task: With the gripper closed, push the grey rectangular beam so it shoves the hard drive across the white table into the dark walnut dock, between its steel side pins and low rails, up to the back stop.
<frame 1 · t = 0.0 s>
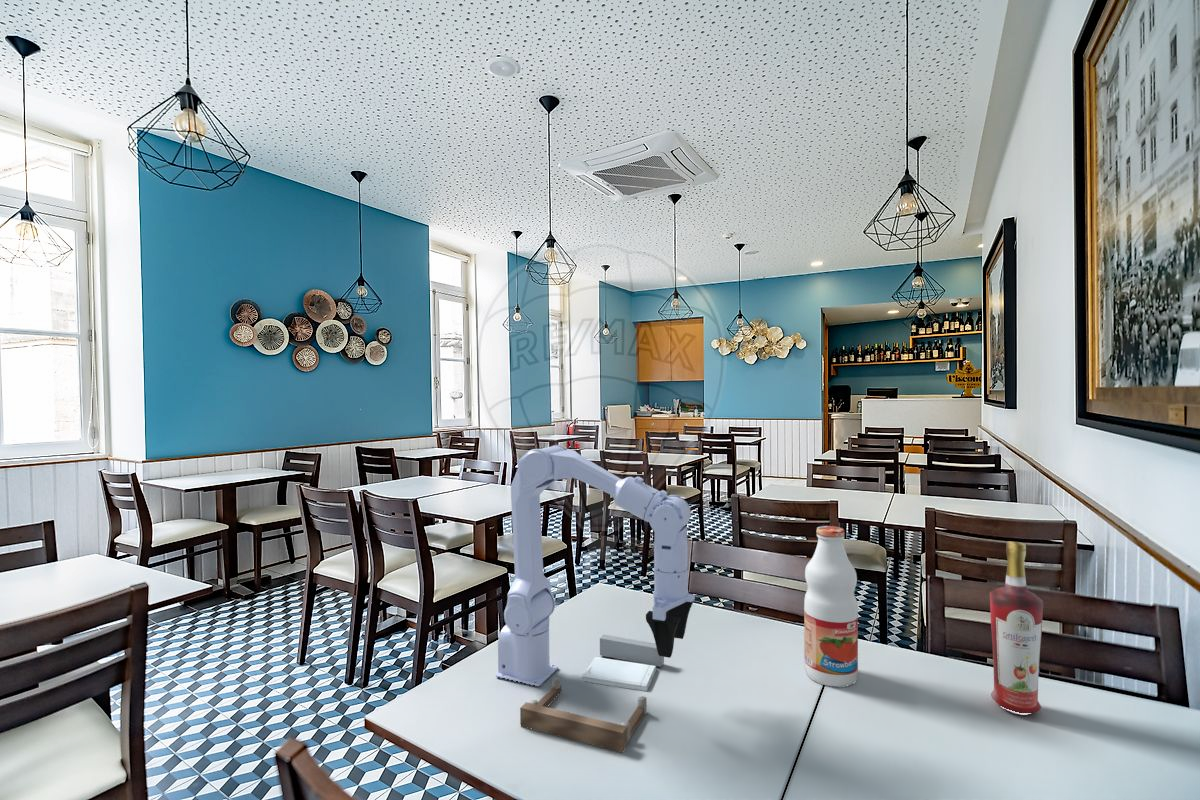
hand: (671, 646, 99), 10 cm above the table, tool pointing down, fingers open, 7 cm apart
fruit juice: (830, 676, 108), on the table
grey rectangular beam: (631, 650, 115), point 2 cm above the table, slide at 0.0 cm
liquor: (1015, 709, 97), on the table
dock: (587, 716, 95), on the table
hard drive: (619, 679, 109), on the table
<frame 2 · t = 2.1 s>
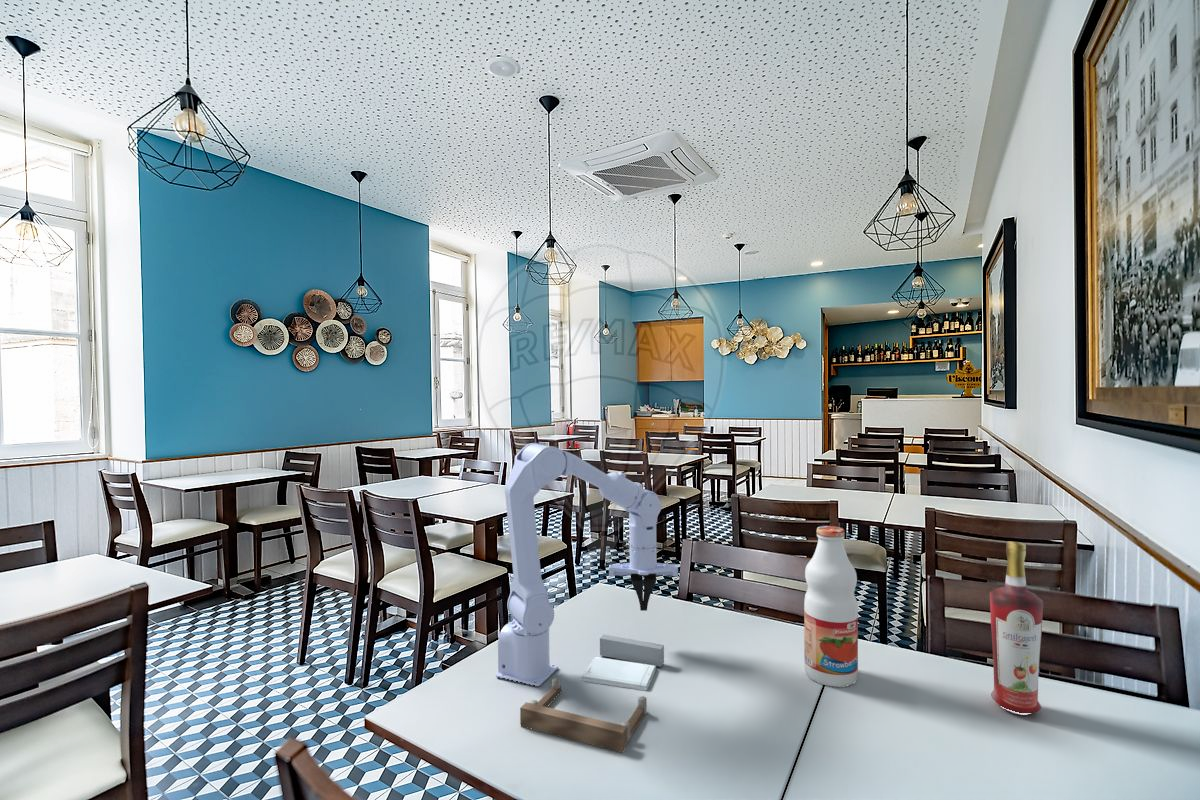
hand: (643, 608, 122), 8 cm above the table, tool pointing down, fingers closed
nothing on the table moved.
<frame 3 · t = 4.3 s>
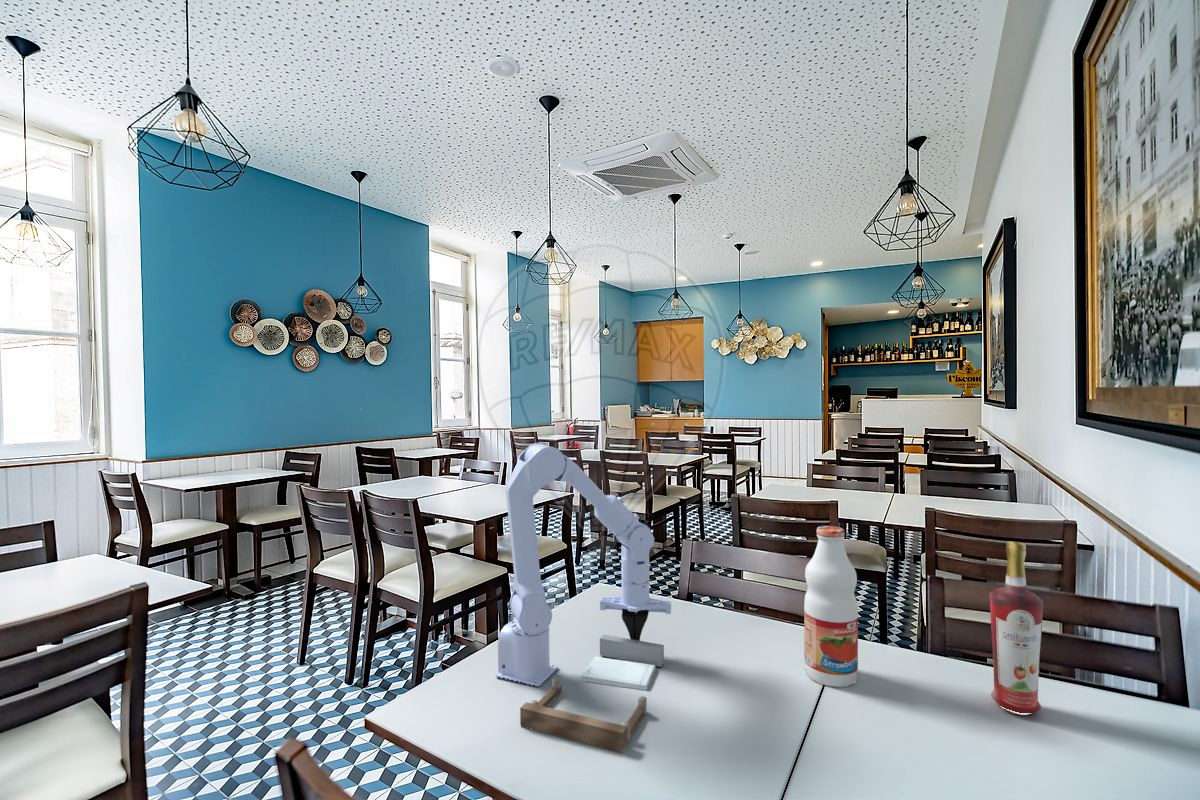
hand: (635, 645, 117), 2 cm above the table, tool pointing down, fingers closed
grey rectangular beam: (631, 650, 115), point 2 cm above the table, slide at 0.0 cm, touching gripper
everything else where it was.
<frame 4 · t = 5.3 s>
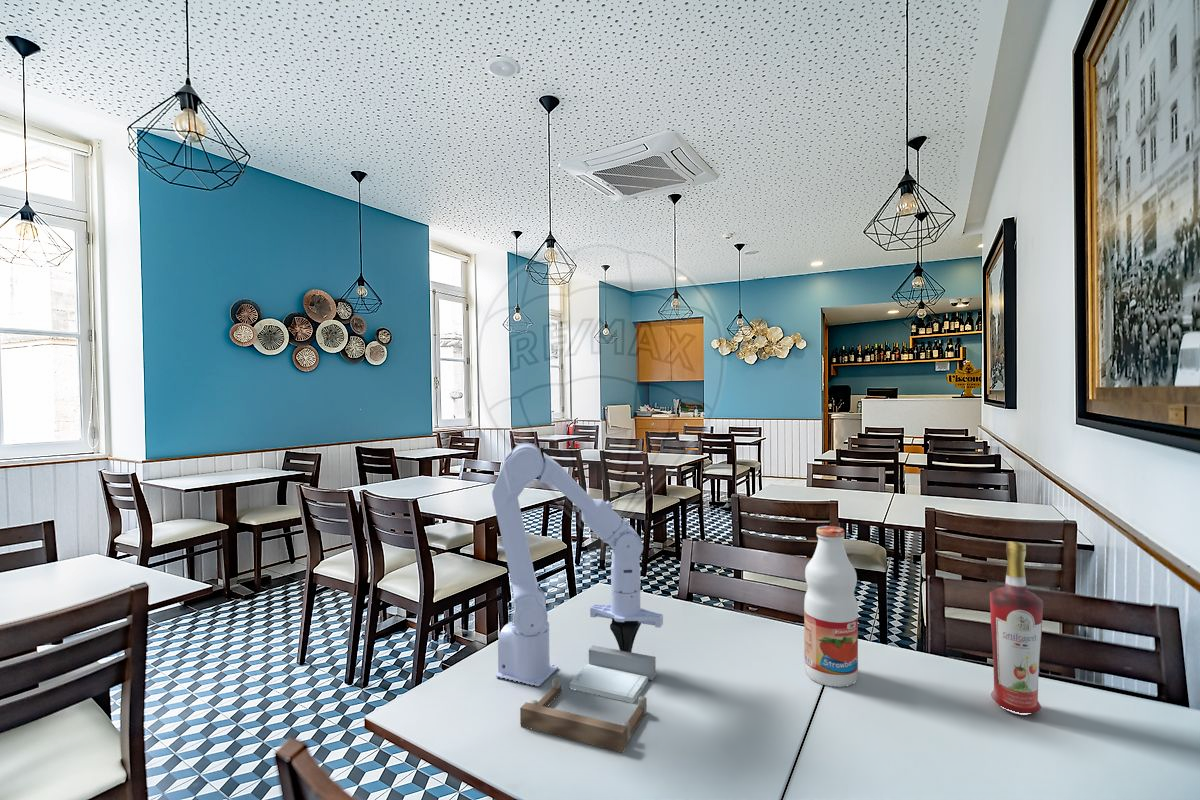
hand: (626, 657, 112), 2 cm above the table, tool pointing down, fingers closed, pressing on grey rectangular beam
grey rectangular beam: (621, 662, 110), point 2 cm above the table, slide at 5.5 cm, touching gripper
hard drive: (609, 688, 105), on the table
everything else where it was.
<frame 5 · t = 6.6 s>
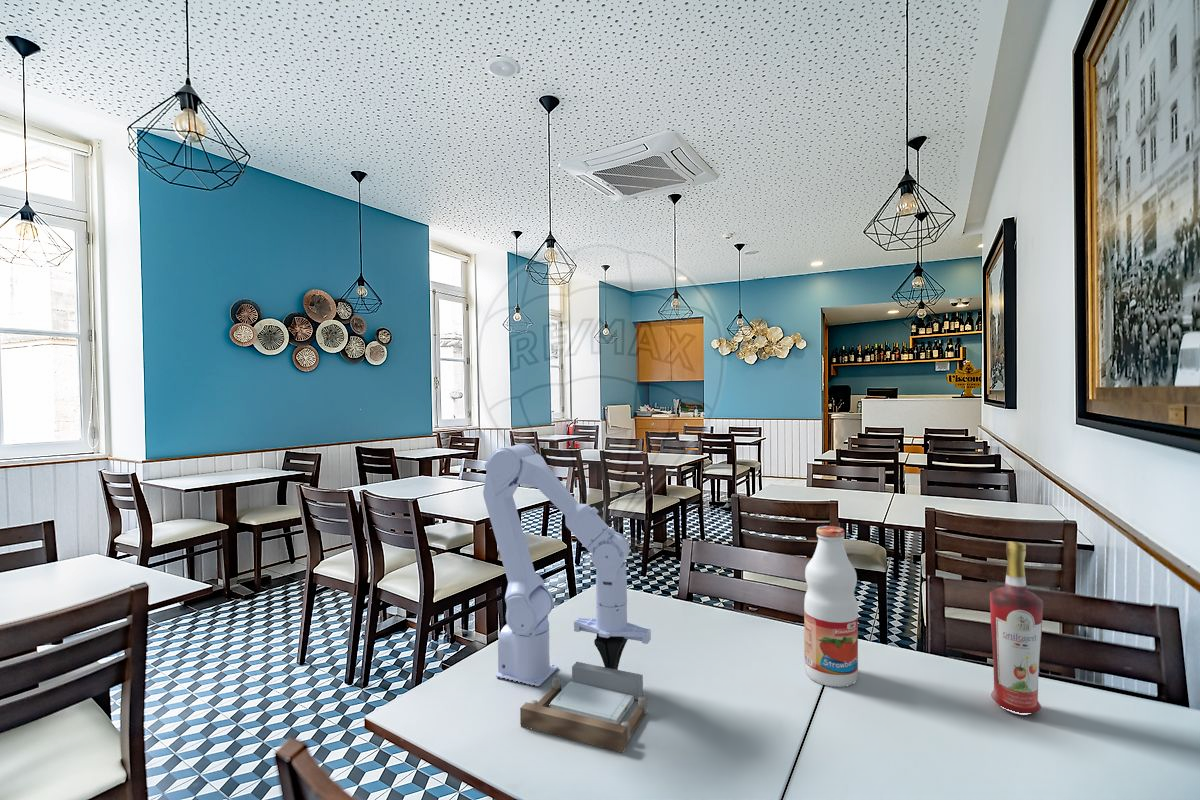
hand: (612, 674, 105), 2 cm above the table, tool pointing down, fingers closed, pressing on grey rectangular beam
grey rectangular beam: (606, 680, 103), point 2 cm above the table, slide at 12.9 cm, touching gripper, hard drive
hard drive: (592, 708, 99), on the table, touching grey rectangular beam
everything else where it was.
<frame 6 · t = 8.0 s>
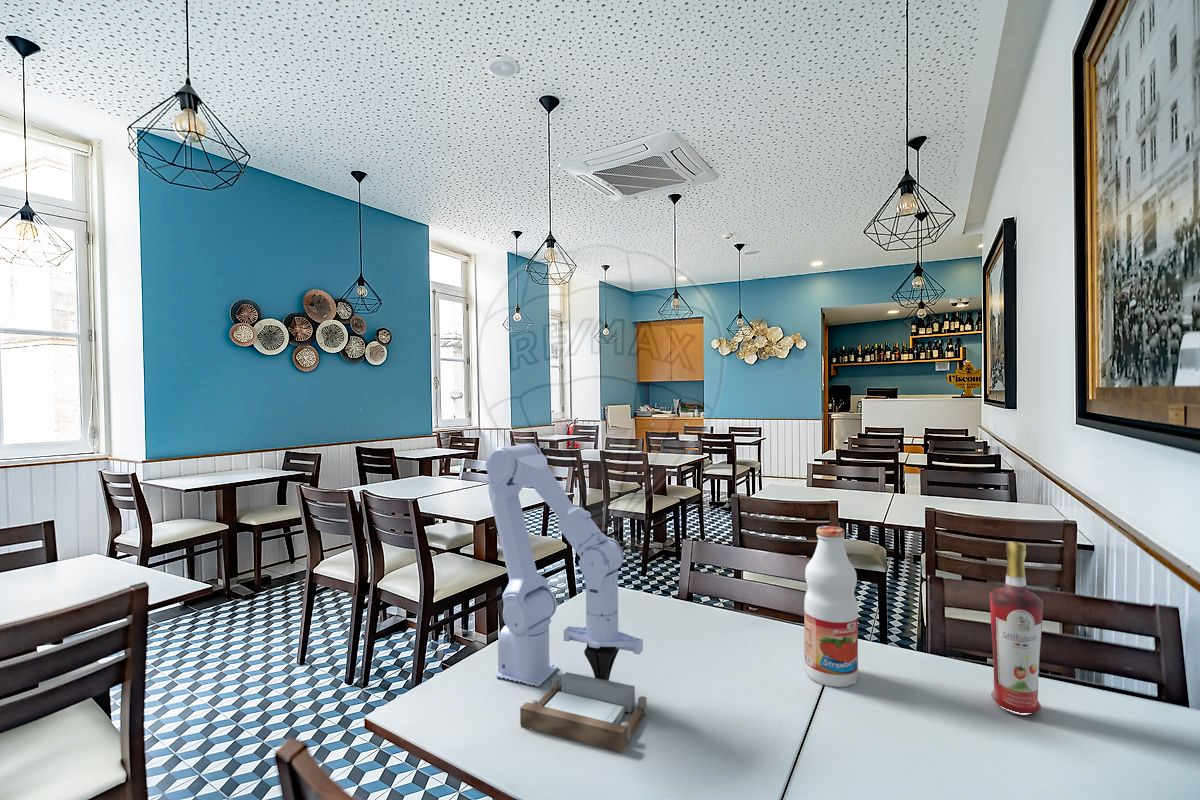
hand: (602, 685, 101), 2 cm above the table, tool pointing down, fingers closed, pressing on grey rectangular beam
grey rectangular beam: (597, 691, 99), point 2 cm above the table, slide at 17.1 cm, touching gripper, hard drive
hard drive: (581, 720, 95), on the table, touching dock, grey rectangular beam
everything else where it was.
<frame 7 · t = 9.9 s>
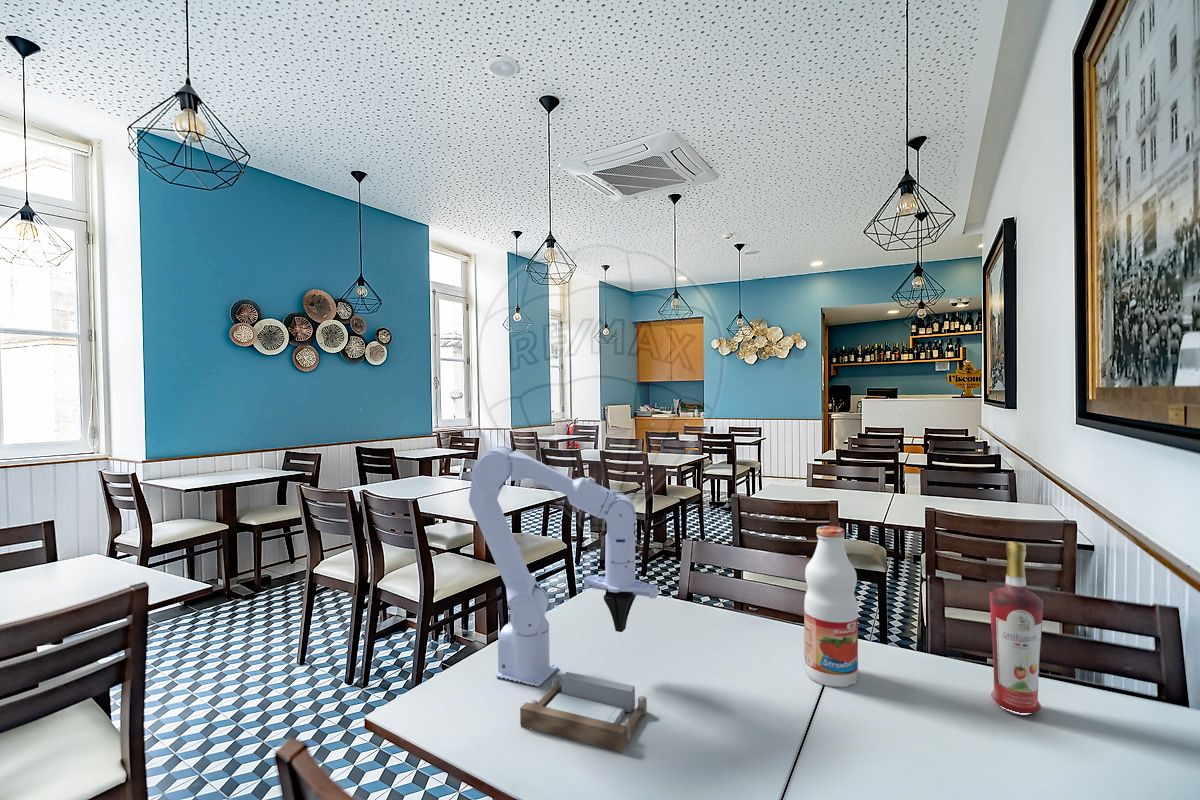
hand: (620, 629, 110), 8 cm above the table, tool pointing down, fingers closed
grey rectangular beam: (597, 691, 99), point 2 cm above the table, slide at 17.0 cm
hard drive: (581, 722, 95), on the table
everything else where it was.
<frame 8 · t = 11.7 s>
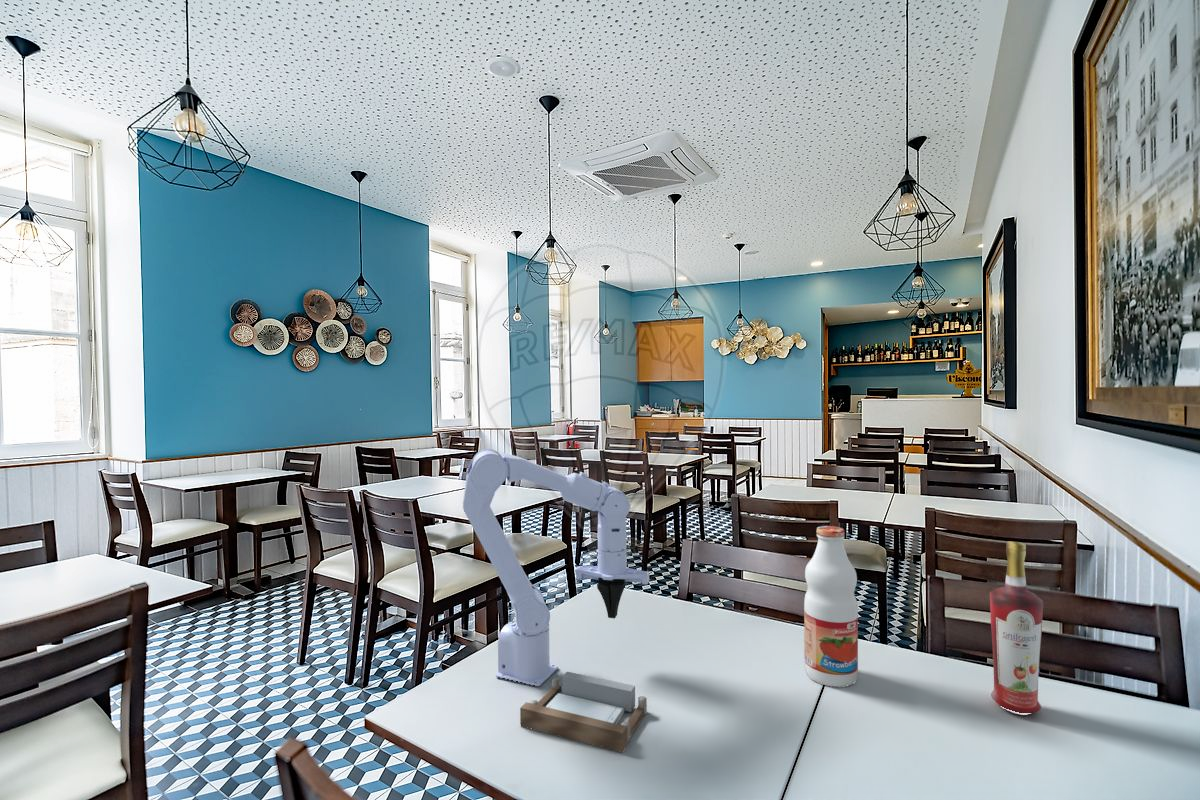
hand: (612, 616, 114), 9 cm above the table, tool pointing down, fingers closed
nothing on the table moved.
at the end: hard drive 0.9 cm off-centre on the dock, point -0.8 cm above the dock's base; hard drive on the table; hard drive tilted 0° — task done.
